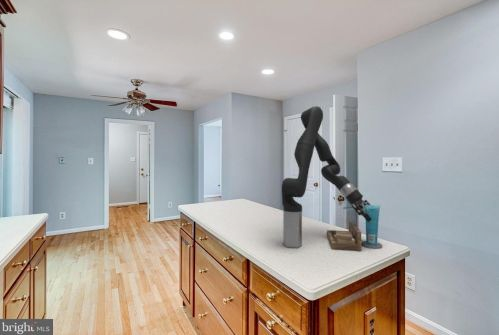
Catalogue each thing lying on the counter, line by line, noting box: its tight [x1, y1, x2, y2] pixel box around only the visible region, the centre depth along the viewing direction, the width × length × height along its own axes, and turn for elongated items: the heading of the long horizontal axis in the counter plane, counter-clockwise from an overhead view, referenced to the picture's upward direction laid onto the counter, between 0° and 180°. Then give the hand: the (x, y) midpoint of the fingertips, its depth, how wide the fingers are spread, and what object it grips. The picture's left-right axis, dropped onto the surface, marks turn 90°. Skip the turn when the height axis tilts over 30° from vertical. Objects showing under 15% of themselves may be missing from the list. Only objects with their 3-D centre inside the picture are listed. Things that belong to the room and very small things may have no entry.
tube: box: [364, 205, 381, 245], centre depth 123 cm, size 7×5×19 cm, turn 94°
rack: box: [326, 219, 362, 252], centre depth 128 cm, size 22×13×9 cm, turn 169°
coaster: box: [361, 240, 383, 250], centre depth 124 cm, size 9×9×1 cm
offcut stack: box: [334, 230, 355, 243], centre depth 124 cm, size 9×9×6 cm
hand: (373, 219), depth 123 cm, fingers open, 8 cm apart
